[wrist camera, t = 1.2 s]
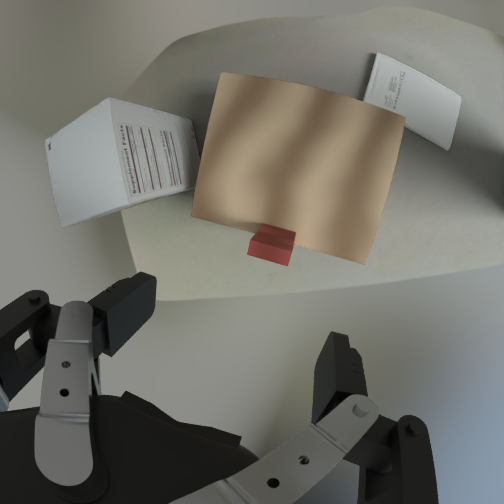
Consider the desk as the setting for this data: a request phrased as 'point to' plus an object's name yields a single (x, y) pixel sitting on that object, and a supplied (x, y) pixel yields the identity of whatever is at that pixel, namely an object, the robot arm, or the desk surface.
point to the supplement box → (119, 160)
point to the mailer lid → (296, 167)
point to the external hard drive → (414, 99)
